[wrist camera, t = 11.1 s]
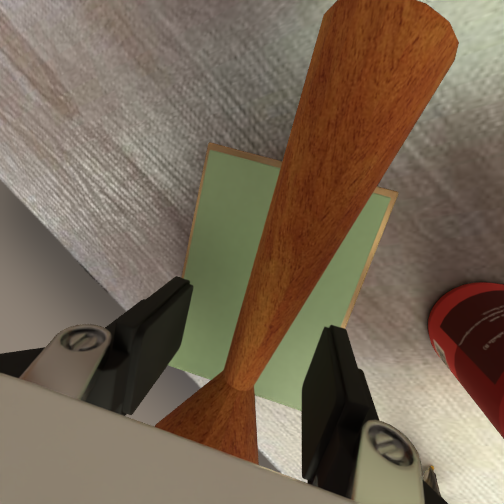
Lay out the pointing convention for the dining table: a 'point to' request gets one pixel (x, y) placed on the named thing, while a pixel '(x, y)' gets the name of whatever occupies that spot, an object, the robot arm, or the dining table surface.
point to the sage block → (239, 270)
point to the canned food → (473, 343)
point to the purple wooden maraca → (322, 189)
